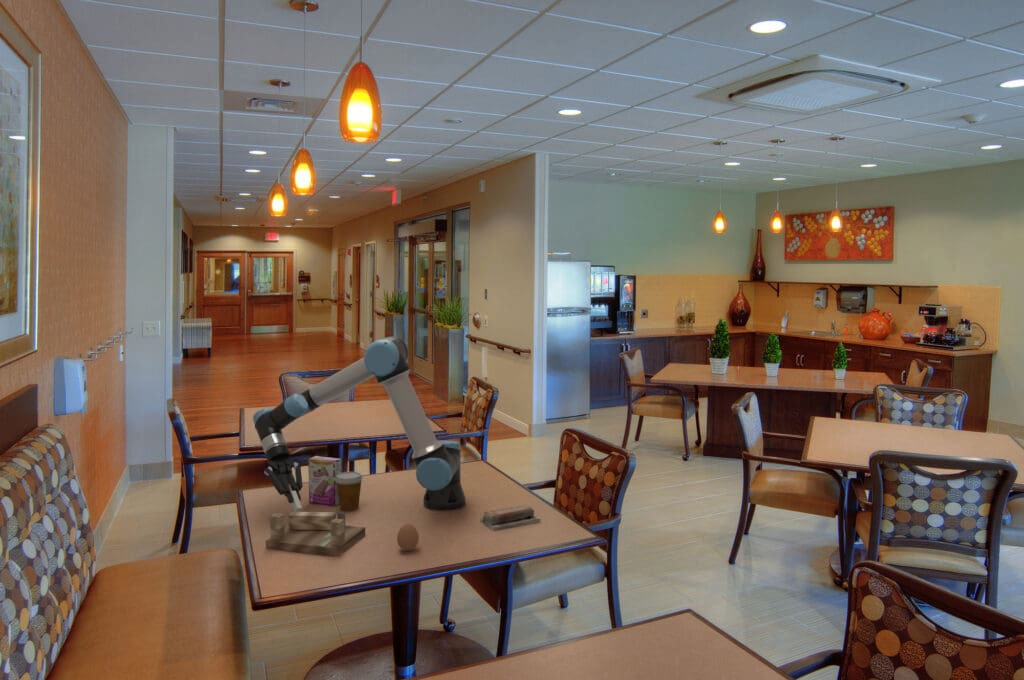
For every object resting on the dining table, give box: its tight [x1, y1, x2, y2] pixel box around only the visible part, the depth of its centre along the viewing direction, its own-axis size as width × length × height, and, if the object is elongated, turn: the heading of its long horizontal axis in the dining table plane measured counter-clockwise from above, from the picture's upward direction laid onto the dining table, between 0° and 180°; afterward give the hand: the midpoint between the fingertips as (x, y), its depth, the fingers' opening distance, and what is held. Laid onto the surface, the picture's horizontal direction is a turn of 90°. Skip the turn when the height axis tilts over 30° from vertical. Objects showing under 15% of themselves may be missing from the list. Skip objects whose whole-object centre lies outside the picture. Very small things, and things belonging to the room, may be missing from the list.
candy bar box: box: [307, 455, 343, 507], centre depth 256 cm, size 11×5×16 cm, turn 71°
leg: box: [288, 511, 337, 530], centre depth 224 cm, size 14×4×4 cm, turn 87°
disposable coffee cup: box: [335, 471, 364, 512], centre depth 251 cm, size 10×10×12 cm
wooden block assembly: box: [265, 511, 366, 557], centre depth 220 cm, size 24×18×10 cm
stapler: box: [479, 505, 541, 531], centre depth 238 cm, size 18×5×10 cm
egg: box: [396, 523, 420, 552], centre depth 213 cm, size 6×6×8 cm
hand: (298, 510), depth 230 cm, fingers closed
